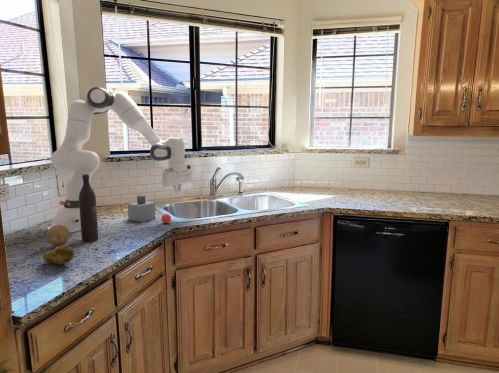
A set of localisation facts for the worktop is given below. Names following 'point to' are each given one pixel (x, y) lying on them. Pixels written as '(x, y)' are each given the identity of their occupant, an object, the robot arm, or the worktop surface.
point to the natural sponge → (57, 235)
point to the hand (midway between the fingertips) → (177, 192)
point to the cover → (141, 210)
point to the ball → (166, 218)
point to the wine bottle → (88, 211)
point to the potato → (59, 255)
